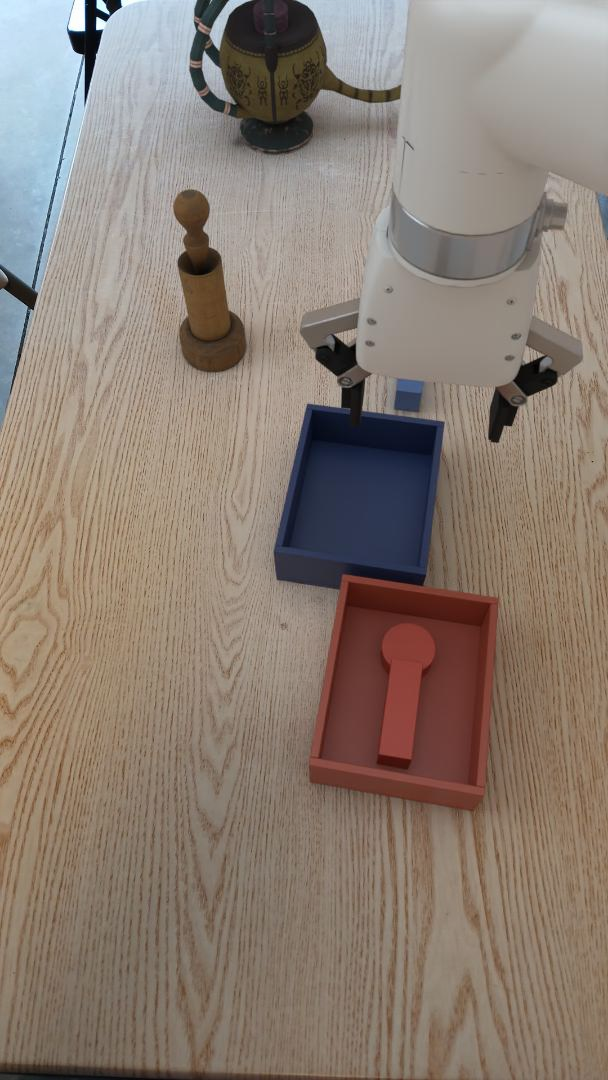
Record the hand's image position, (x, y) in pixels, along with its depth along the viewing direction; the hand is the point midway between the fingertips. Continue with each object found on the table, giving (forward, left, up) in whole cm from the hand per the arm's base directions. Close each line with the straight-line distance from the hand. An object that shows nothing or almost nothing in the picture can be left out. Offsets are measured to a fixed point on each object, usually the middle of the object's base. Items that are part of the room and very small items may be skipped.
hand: (424, 418), depth 58 cm
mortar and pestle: (+28, -3, -17) cm, 33 cm away
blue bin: (+4, +1, -16) cm, 17 cm away
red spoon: (-10, +11, -16) cm, 22 cm away
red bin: (-10, +11, -16) cm, 22 cm away
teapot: (+46, -34, -17) cm, 60 cm away
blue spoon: (+12, -15, -16) cm, 25 cm away
